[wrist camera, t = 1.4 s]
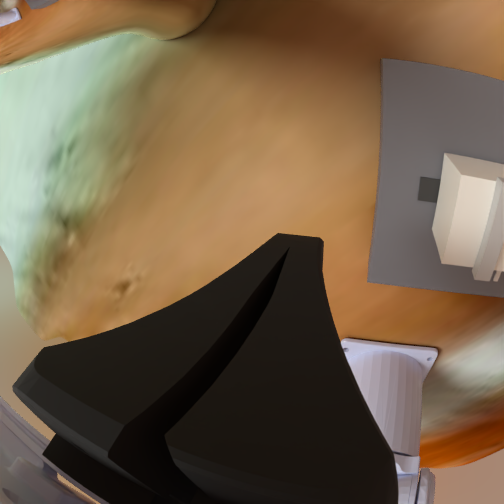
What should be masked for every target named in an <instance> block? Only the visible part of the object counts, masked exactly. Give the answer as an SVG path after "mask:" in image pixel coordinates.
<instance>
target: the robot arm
mask: <svg viewBox="0 0 504 504" xmlns="http://www.w3.org/2000/svg"><path fill="white" fill-rule="evenodd" d="M323 247H324V241H323V240H322V239H321V238H319V237H310V236H300V235H291V234H281V233H278V234H276V235H275V236H273V237H272V238H271V239H269V240H268V241H267V242H266V243H264V244H263V245H262V246H260V247H259V248H258V249H257V250H255V251H254V252H253V253H251V254H250V255H249V256H247V257H246V258H245V259H243V260H242V261H241V262H239V263H238V264H237V265H235V266H234V267H233V268H231V269H230V270H228V271H227V272H225V273H224V274H222V275H221V276H219V277H218V278H216V279H215V280H213V281H212V282H210V283H209V284H207V285H206V286H204V287H202V288H201V289H199V290H197V291H195V292H194V293H192V294H190V295H189V296H187V297H185V298H183V299H181V300H179V301H177V302H175V303H173V304H172V305H170V306H168V307H165V308H163V309H161V310H159V311H156V312H154V313H152V314H150V315H147V316H145V317H143V318H141V319H138V320H136V321H134V322H131V323H129V324H126V325H123V326H120V327H118V328H115V329H112V330H109V331H106V332H103V333H100V334H97V335H93V336H90V337H86V338H83V339H79V340H75V341H70V342H67V343H62V344H58V345H54V346H49V347H44V348H43V349H42V350H41V351H40V352H39V353H38V355H37V356H36V357H35V358H34V360H33V361H32V362H31V363H30V365H29V366H28V367H27V368H26V370H25V371H24V372H23V373H22V374H21V376H20V377H19V378H18V380H17V381H16V382H15V383H14V385H13V392H14V393H15V394H16V395H17V397H18V398H19V399H20V400H21V401H22V402H23V403H24V404H25V405H26V406H27V407H28V408H29V409H30V410H31V411H32V412H33V413H34V414H35V415H36V416H37V417H38V418H40V419H41V420H42V421H43V422H44V423H45V424H46V425H47V426H48V427H49V428H50V429H52V430H53V431H54V432H55V433H56V434H55V436H54V437H53V439H52V440H51V441H49V440H48V439H47V438H46V437H44V436H43V435H42V434H41V433H40V432H38V431H37V430H36V429H35V428H34V427H33V426H31V425H30V424H29V423H28V422H27V421H26V420H24V419H23V418H22V417H21V416H20V415H19V414H18V413H17V412H16V411H14V410H13V409H12V408H11V406H10V405H9V404H8V403H7V402H6V401H5V400H3V398H2V397H1V396H0V504H96V503H95V502H93V501H92V500H90V499H89V498H87V497H86V496H84V495H83V494H81V493H79V492H78V491H76V490H74V489H73V488H71V487H69V486H68V485H66V484H64V483H63V482H61V481H59V480H58V478H57V473H59V474H60V475H61V476H63V477H64V478H65V479H66V480H68V481H69V482H70V483H72V484H73V485H75V486H76V487H77V488H79V489H80V490H82V491H83V492H84V493H86V494H87V495H89V496H90V497H92V498H93V499H95V500H96V501H98V502H99V503H101V504H433V502H434V494H435V475H434V474H433V473H432V472H430V469H429V468H421V471H420V477H419V482H418V473H419V465H420V457H419V446H420V433H421V414H422V383H423V382H424V380H425V378H426V376H427V374H428V373H429V371H430V369H431V367H432V365H433V363H434V361H435V359H436V358H437V356H438V350H437V349H436V348H430V347H419V346H409V345H399V344H390V343H381V342H373V341H365V340H357V339H350V338H345V339H343V340H342V341H341V342H340V339H339V337H338V333H337V330H336V327H335V324H334V321H333V318H332V314H331V311H330V307H329V303H328V299H327V294H326V290H325V284H324V278H323V272H322V268H323ZM417 483H418V486H417Z"/></svg>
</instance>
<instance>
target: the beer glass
mask: <svg viewBox="0 0 504 504" xmlns="http://www.w3.org/2000/svg"><path fill="white" fill-rule="evenodd" d="M215 3H216V0H0V75H1V74H4V73H7V72H10V71H13V70H16V69H19V68H22V67H25V66H29V65H32V64H35V63H38V62H40V61H43V60H46V59H48V58H51V57H54V56H57V55H60V54H63V53H65V52H68V51H71V50H73V49H76V48H79V47H82V46H85V45H87V44H90V43H93V42H96V41H99V40H102V39H105V38H109V37H113V36H116V35H122V34H136V35H140V36H144V37H148V38H152V39H158V40H169V39H174V38H178V37H181V36H184V35H186V34H188V33H190V32H191V31H193V30H194V29H196V28H197V27H198V26H199V25H200V24H201V23H202V22H203V21H204V20H205V19H206V18H207V17H208V15H209V14H210V12H211V11H212V9H213V7H214V5H215Z"/></svg>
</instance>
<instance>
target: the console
mask: <svg viewBox="0 0 504 504" xmlns="http://www.w3.org/2000/svg"><path fill="white" fill-rule="evenodd" d="M380 66H381V128H380V152H379V169H378V183H377V194H376V205H375V215H374V224H373V232H372V240H371V248H370V255H369V262H368V278H367V282H370V283H378V284H386V285H395V286H403V287H412V288H420V289H429V290H438V291H447V292H456V293H465V294H474V295H483V296H493V297H503V298H504V271H496V270H494V271H493V274H492V276H491V279H490V281H482V280H475V279H474V276H473V273H472V269H473V267H465V266H457V265H449V264H442V263H441V260H440V256H439V252H438V248H437V245H436V241H435V238H434V234H433V231H432V226H433V221H434V216H435V211H436V206H437V200H438V194H439V188H440V182H441V175H442V168H443V160H444V153H449V154H455V155H461V156H466V157H471V158H476V159H481V160H486V161H491V162H495V163H500V164H504V81H502V80H498V79H495V78H491V77H488V76H484V75H480V74H476V73H472V72H467V71H463V70H458V69H453V68H449V67H443V66H438V65H432V64H426V63H420V62H413V61H405V60H397V59H387V58H382V59H380Z"/></svg>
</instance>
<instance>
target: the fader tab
mask: <svg viewBox="0 0 504 504" xmlns="http://www.w3.org/2000/svg"><path fill="white" fill-rule="evenodd" d="M432 231H433V234H434V238H435V241H436V245H437V248H438V252H439V256H440V260H441V263H442V264H449V265H457V266H465V267H473V269H472V273H473V276H474V279H475V280H482V281H490V279H491V276H492V274H493V271H494V270H496V271H504V164H500V163H495V162H491V161H486V160H481V159H476V158H471V157H466V156H461V155H455V154H449V153H444V160H443V168H442V175H441V182H440V188H439V194H438V200H437V206H436V211H435V216H434V221H433V226H432Z"/></svg>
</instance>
